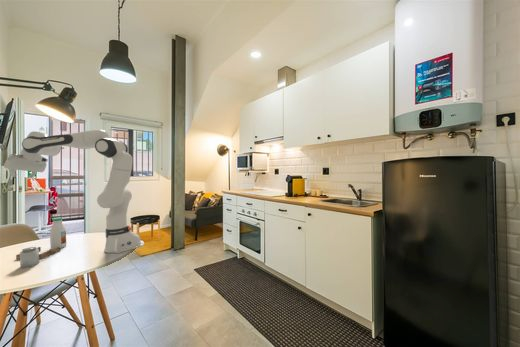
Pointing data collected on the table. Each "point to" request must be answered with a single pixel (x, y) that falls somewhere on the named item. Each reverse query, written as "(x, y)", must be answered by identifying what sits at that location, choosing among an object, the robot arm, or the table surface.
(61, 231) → the milk bottle
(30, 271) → the table surface
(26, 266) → the grey jar
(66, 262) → the table surface
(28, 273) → the table surface
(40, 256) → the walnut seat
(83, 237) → the table surface
